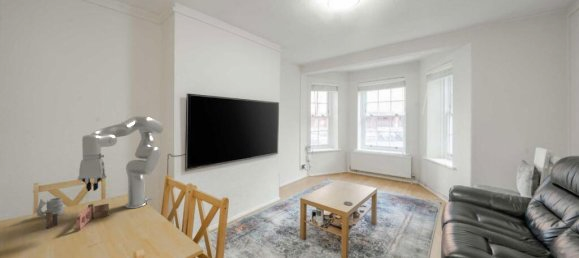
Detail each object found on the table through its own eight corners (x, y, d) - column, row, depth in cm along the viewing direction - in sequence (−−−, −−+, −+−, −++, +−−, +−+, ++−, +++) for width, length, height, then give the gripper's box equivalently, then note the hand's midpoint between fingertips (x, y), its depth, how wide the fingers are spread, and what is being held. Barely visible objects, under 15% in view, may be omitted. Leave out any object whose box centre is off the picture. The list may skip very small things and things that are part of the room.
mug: (66, 213, 140) (66, 194, 139) (41, 221, 129) (40, 201, 128) (59, 211, 142) (58, 193, 142) (33, 219, 131) (32, 199, 130)
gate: (88, 218, 133) (87, 207, 132) (91, 218, 133) (91, 206, 133) (76, 230, 120) (76, 216, 120) (80, 229, 121) (80, 216, 120)
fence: (108, 213, 142) (108, 200, 141) (108, 215, 139) (108, 202, 139) (47, 226, 124) (46, 211, 124) (46, 229, 121) (45, 213, 121)
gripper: (112, 155, 130) (112, 186, 131) (76, 156, 124) (77, 189, 125) (107, 158, 123) (107, 191, 124) (69, 159, 117) (70, 193, 118)
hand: (92, 189), depth 124 cm, fingers closed
